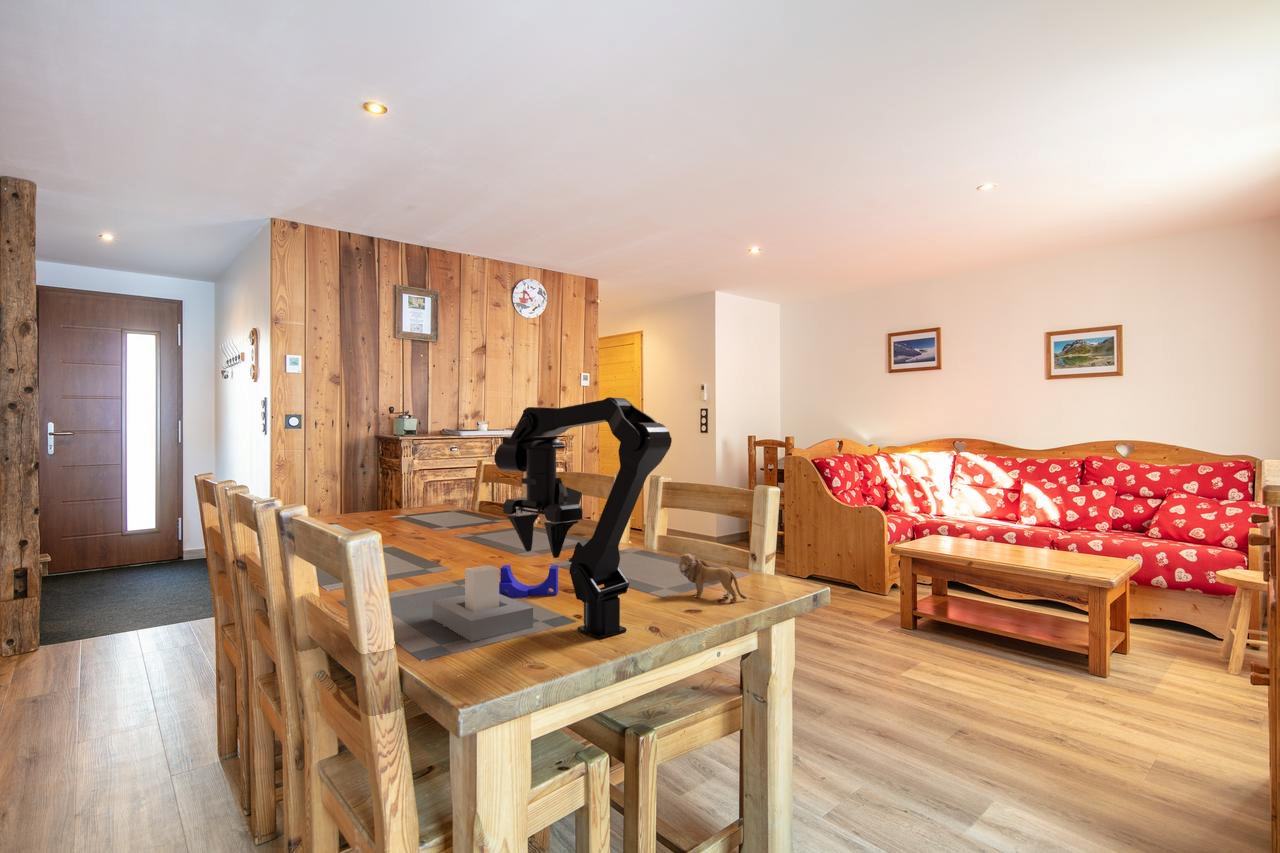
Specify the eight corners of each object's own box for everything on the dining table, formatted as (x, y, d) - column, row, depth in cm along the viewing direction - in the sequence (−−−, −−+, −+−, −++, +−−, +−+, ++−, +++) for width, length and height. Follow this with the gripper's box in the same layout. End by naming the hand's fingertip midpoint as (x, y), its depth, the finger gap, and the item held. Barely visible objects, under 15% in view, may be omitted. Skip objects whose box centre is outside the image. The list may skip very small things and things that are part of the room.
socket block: (532, 627, 115) (533, 606, 115) (471, 641, 107) (471, 619, 107) (490, 607, 127) (490, 588, 127) (432, 619, 119) (432, 599, 119)
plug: (499, 616, 117) (499, 568, 117) (474, 622, 114) (474, 572, 114) (489, 612, 120) (489, 564, 120) (465, 617, 117) (465, 568, 116)
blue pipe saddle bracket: (498, 598, 134) (498, 569, 134) (503, 592, 139) (503, 565, 139) (555, 598, 134) (555, 570, 134) (558, 592, 139) (558, 565, 139)
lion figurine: (675, 597, 134) (675, 555, 134) (682, 591, 139) (682, 550, 139) (744, 604, 129) (744, 560, 129) (749, 597, 134) (749, 555, 134)
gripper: (605, 472, 120) (605, 555, 120) (547, 468, 134) (548, 542, 134) (557, 476, 112) (557, 564, 112) (501, 471, 126) (502, 550, 126)
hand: (542, 554), depth 121 cm, fingers open, 9 cm apart
